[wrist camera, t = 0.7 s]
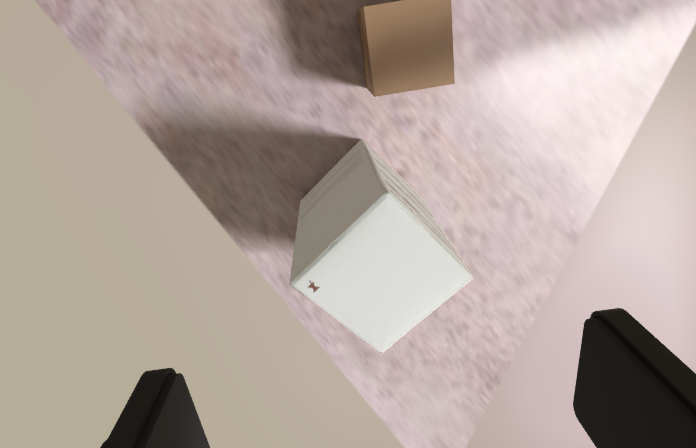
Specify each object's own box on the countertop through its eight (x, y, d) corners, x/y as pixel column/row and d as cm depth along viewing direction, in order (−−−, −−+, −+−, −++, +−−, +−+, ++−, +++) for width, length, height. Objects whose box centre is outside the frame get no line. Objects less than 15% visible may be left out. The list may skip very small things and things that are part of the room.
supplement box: (361, 256, 36) (379, 359, 24) (297, 200, 34) (283, 285, 22) (426, 198, 34) (478, 280, 23) (363, 134, 32) (386, 190, 20)
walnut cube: (357, 11, 28) (363, 6, 24) (429, -1, 28) (450, -8, 24) (366, 87, 30) (374, 96, 26) (434, 76, 30) (454, 83, 26)
